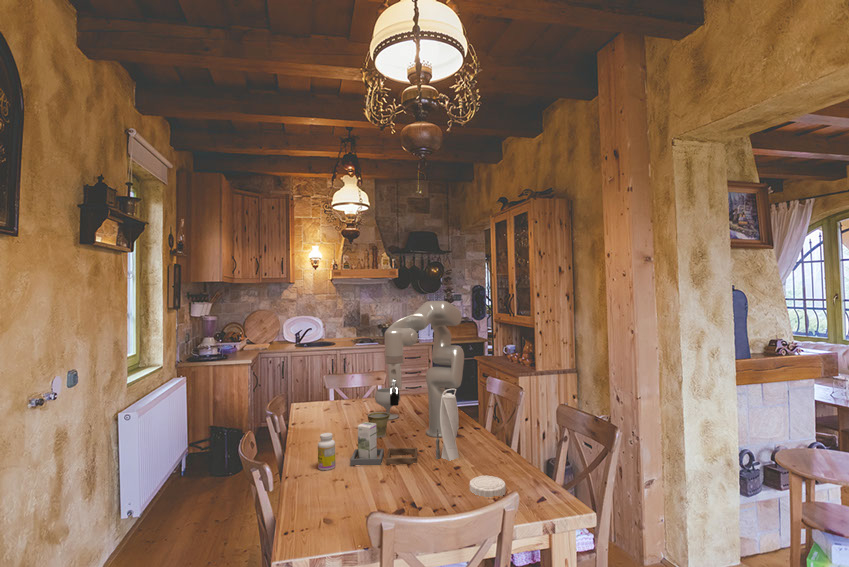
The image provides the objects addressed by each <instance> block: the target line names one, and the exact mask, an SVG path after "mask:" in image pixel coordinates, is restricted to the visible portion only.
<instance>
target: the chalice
mask: <svg viewBox="0 0 849 567" xmlns="http://www.w3.org/2000/svg"><path fill="white" fill-rule="evenodd" d="M390 395H391V390H390V389H389V387H383V388H379V389H376V391H375V396H374V400H375V403H376V404H378V405H380V407H383V408H384V409H385V411H386V413H389V414H390V417H389V419H388V421H389V420H395V419H398V418H399V417H400V415H399V414H398V413H391V409H392V407H393V406H391V405H390ZM400 401H401V393H400V392H399V400H398V403H400Z"/></svg>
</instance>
